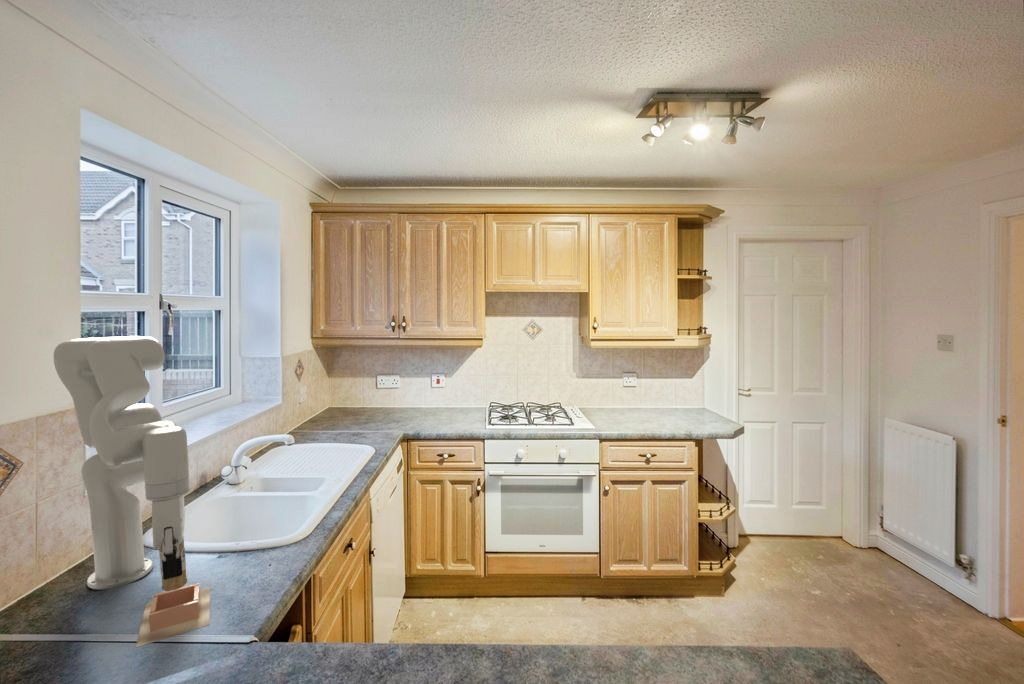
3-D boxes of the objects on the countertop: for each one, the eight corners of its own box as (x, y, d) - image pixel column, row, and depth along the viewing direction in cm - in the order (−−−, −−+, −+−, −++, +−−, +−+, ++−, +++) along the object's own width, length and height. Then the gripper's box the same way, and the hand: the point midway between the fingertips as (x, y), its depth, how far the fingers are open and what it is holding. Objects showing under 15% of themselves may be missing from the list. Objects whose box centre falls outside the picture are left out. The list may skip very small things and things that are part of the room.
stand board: (146, 608, 105) (146, 603, 105) (210, 591, 111) (210, 586, 111) (136, 653, 92) (135, 647, 91) (209, 630, 98) (209, 624, 98)
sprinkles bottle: (187, 587, 100) (183, 525, 99) (160, 594, 98) (156, 531, 97) (187, 577, 104) (183, 517, 103) (161, 584, 101) (157, 523, 101)
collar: (154, 610, 103) (153, 594, 102) (200, 597, 107) (199, 582, 107) (150, 631, 96) (149, 615, 95) (199, 617, 100) (198, 601, 100)
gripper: (150, 478, 104) (156, 558, 106) (140, 505, 90) (146, 597, 91) (191, 472, 108) (196, 549, 110) (187, 496, 94) (193, 585, 95)
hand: (173, 570), depth 101 cm, fingers closed on sprinkles bottle, 4 cm apart
